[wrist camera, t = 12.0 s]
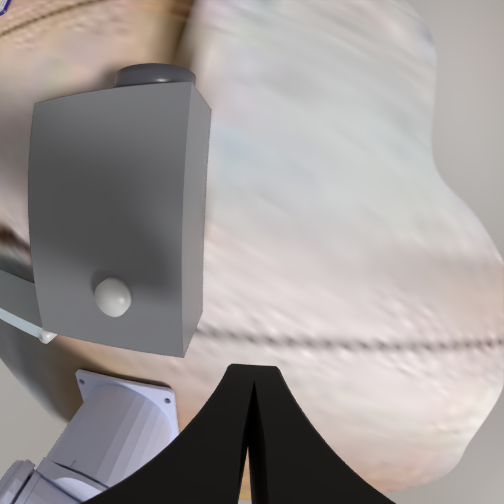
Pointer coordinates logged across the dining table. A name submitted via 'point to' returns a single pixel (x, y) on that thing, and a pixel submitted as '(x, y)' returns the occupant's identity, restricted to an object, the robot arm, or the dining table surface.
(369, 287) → the dining table surface
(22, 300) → the side door
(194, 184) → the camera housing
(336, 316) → the dining table surface
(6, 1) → the supplement box
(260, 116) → the dining table surface
